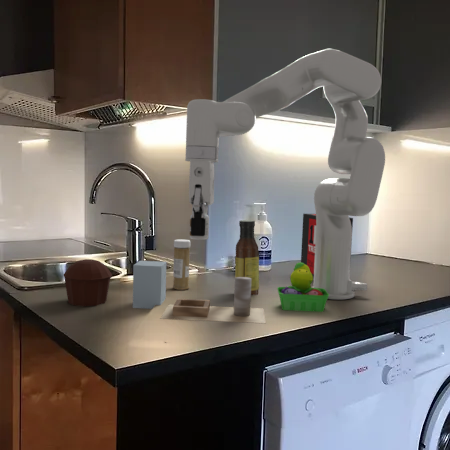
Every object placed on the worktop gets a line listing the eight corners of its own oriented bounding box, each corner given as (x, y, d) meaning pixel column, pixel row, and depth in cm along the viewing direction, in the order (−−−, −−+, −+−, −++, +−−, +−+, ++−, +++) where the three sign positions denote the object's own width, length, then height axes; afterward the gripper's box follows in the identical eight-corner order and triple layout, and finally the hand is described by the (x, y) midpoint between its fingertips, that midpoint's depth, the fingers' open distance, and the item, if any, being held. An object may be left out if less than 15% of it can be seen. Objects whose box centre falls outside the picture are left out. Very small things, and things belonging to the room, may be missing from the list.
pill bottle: (189, 237, 120) (190, 204, 119) (208, 238, 120) (209, 205, 119) (189, 239, 116) (190, 205, 115) (208, 240, 116) (209, 206, 115)
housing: (165, 302, 124) (166, 261, 123) (160, 309, 117) (161, 266, 116) (139, 301, 124) (139, 260, 123) (132, 307, 117) (133, 265, 117)
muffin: (60, 297, 125) (61, 257, 124) (106, 294, 129) (106, 256, 128) (66, 309, 114) (67, 265, 113) (116, 306, 119) (116, 263, 118)
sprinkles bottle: (192, 289, 139) (193, 240, 138) (177, 290, 137) (178, 241, 135) (184, 286, 143) (185, 238, 142) (169, 287, 140) (170, 239, 139)
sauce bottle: (261, 294, 136) (264, 220, 134) (254, 299, 130) (257, 222, 128) (237, 291, 138) (240, 219, 136) (230, 296, 132) (233, 220, 130)
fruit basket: (278, 315, 116) (280, 266, 115) (276, 305, 124) (278, 260, 123) (328, 317, 115) (331, 268, 114) (322, 307, 124) (325, 262, 123)
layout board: (263, 312, 117) (265, 274, 116) (265, 327, 105) (267, 285, 104) (168, 308, 118) (169, 270, 117) (160, 323, 106) (161, 280, 105)
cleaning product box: (349, 282, 156) (353, 218, 155) (323, 283, 154) (326, 217, 152) (324, 272, 172) (327, 213, 170) (300, 273, 170) (303, 213, 168)
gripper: (214, 154, 107) (211, 239, 109) (221, 157, 124) (218, 231, 126) (179, 152, 108) (177, 237, 110) (190, 156, 125) (188, 230, 126)
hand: (199, 233), depth 118 cm, fingers closed on pill bottle, 4 cm apart
